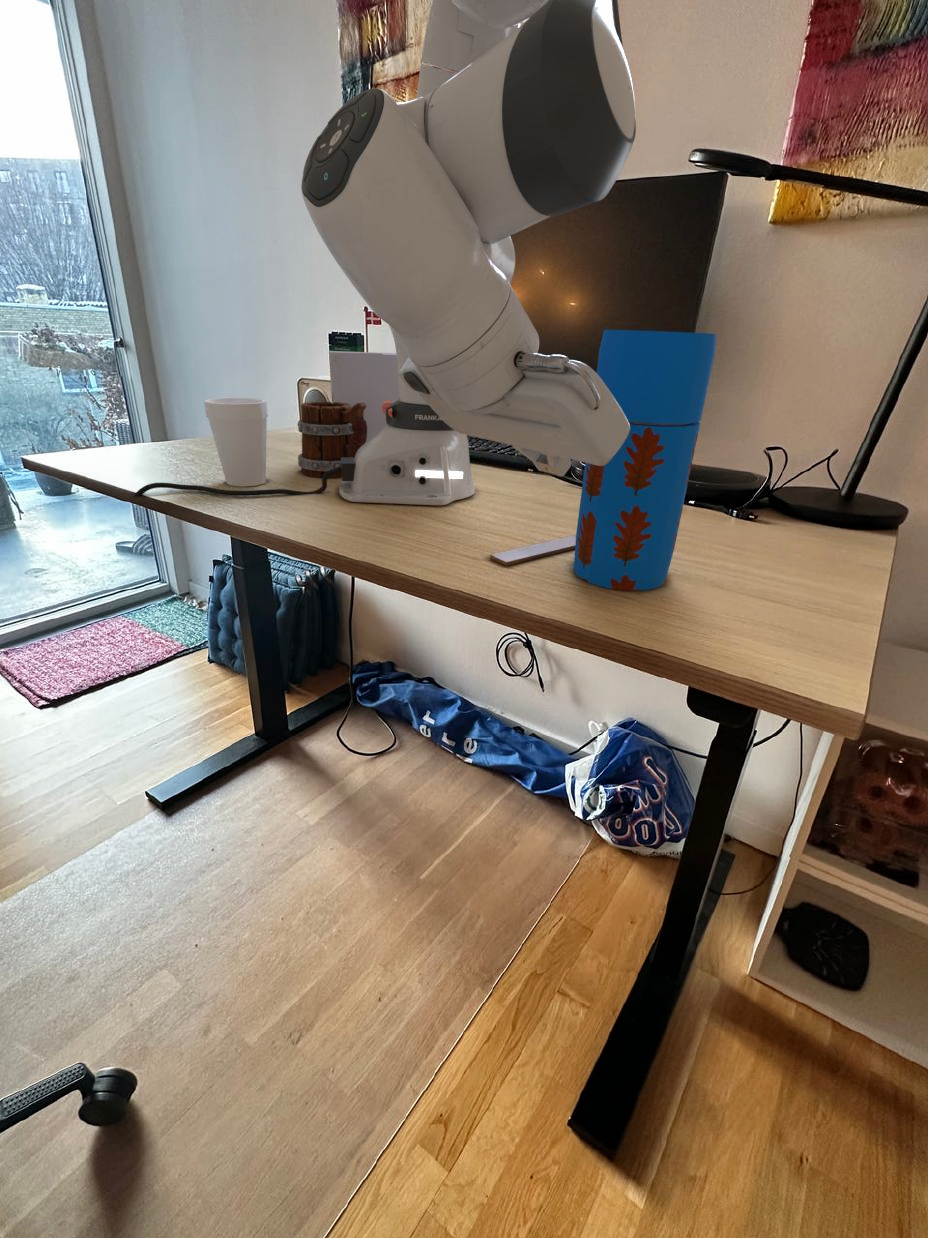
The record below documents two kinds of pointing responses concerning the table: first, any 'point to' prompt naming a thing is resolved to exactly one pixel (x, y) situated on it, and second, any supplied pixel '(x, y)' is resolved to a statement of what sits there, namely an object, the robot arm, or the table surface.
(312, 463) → the mug
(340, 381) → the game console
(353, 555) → the table surface
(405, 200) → the robot arm
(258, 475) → the foam cup
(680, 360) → the thermos
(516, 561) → the ruler
